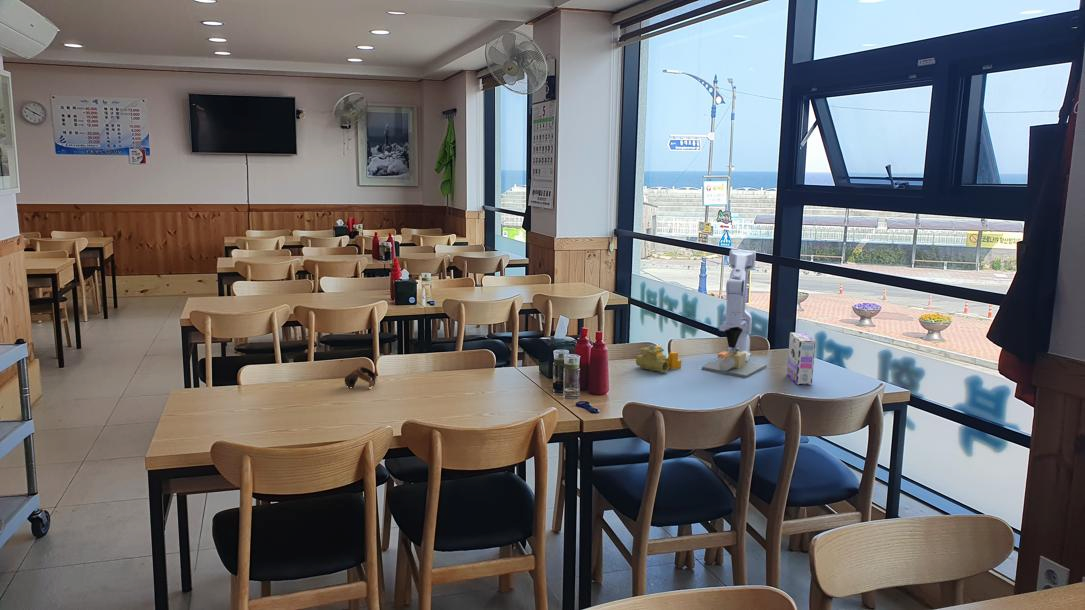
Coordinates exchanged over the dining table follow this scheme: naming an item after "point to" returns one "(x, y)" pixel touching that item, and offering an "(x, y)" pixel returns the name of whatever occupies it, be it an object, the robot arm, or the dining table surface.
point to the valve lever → (727, 352)
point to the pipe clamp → (672, 359)
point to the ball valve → (653, 359)
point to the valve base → (735, 365)
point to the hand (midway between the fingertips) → (731, 347)
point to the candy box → (801, 358)
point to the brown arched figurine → (353, 377)
